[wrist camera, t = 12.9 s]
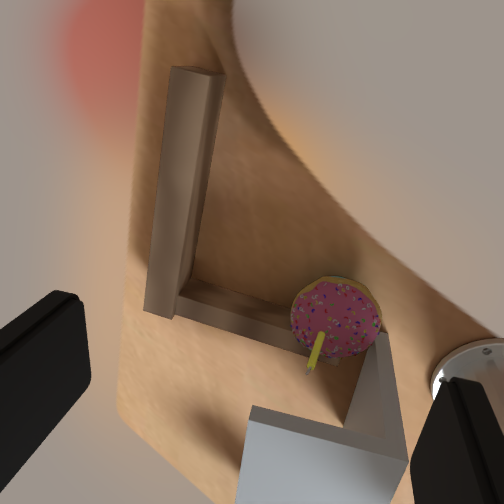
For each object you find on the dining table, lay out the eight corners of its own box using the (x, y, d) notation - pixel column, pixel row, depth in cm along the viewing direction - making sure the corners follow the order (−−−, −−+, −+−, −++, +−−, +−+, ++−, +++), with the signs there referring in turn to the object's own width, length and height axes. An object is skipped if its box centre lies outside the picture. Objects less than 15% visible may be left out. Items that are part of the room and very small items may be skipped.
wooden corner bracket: (427, 127, 33) (440, 137, 29) (337, 342, 44) (337, 373, 40) (192, 66, 35) (170, 66, 31) (162, 287, 46) (143, 310, 42)
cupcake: (306, 332, 44) (294, 415, 34) (285, 266, 42) (265, 335, 31) (384, 321, 42) (398, 409, 31) (369, 250, 39) (378, 320, 28)
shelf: (388, 333, 42) (408, 462, 29) (355, 429, 49) (359, 570, 35) (278, 309, 44) (248, 419, 30) (261, 405, 51) (230, 531, 37)
